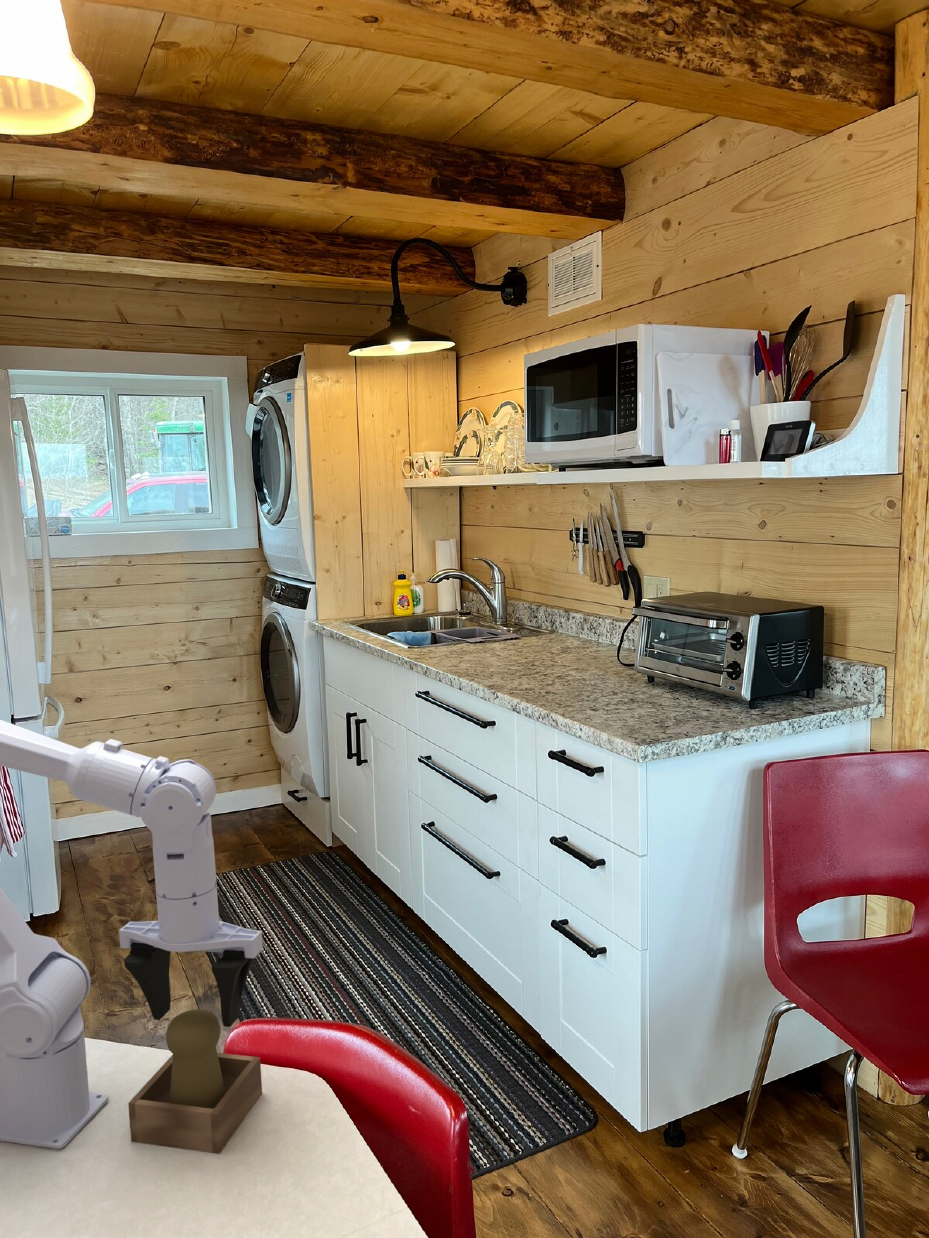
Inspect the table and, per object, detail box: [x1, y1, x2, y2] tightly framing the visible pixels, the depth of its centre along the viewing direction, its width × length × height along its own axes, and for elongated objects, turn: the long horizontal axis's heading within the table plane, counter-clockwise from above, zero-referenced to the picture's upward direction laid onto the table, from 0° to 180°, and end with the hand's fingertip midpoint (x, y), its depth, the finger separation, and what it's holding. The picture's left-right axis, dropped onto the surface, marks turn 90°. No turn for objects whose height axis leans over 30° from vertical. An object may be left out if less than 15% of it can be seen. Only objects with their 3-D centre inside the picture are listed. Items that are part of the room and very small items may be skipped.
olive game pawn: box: [165, 1008, 226, 1109], centre depth 94 cm, size 6×6×11 cm
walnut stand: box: [127, 1052, 263, 1154], centre depth 94 cm, size 9×9×4 cm
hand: (196, 1017), depth 94 cm, fingers open, 7 cm apart
